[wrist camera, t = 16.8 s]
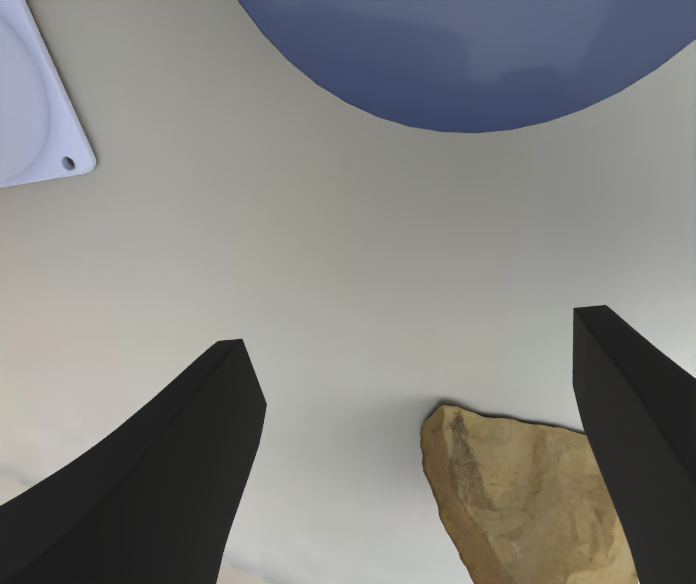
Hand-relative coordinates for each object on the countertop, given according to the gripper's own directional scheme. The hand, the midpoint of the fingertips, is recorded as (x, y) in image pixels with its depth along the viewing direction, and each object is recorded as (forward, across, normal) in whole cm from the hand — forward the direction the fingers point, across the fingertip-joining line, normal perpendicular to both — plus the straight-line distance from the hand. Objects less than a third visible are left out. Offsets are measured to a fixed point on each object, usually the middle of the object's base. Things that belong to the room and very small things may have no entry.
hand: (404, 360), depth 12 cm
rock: (+11, -4, +14) cm, 18 cm away
